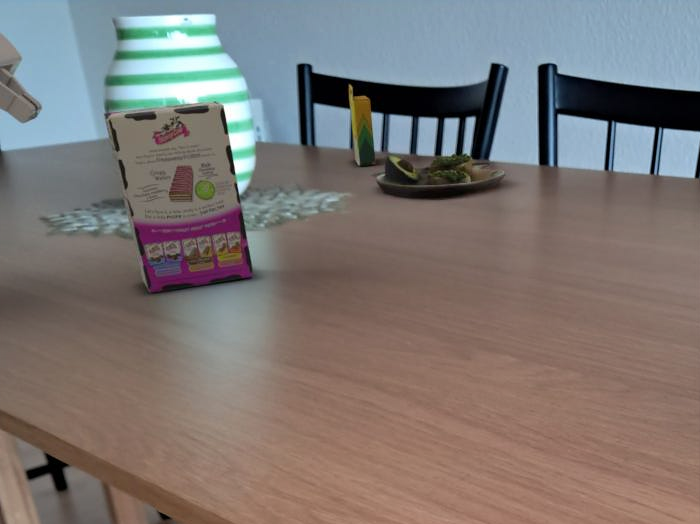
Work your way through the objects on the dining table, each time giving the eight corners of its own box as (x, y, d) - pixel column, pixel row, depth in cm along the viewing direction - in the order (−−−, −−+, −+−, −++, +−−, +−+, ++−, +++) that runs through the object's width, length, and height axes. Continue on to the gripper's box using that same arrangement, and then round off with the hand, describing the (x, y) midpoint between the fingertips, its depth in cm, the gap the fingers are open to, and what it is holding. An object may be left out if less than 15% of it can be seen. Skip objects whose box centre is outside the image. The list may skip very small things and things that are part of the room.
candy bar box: (244, 268, 111) (216, 99, 102) (255, 278, 107) (226, 103, 98) (140, 283, 107) (101, 110, 98) (147, 294, 103) (107, 114, 94)
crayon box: (376, 165, 168) (369, 85, 161) (358, 166, 167) (350, 87, 161) (372, 159, 174) (364, 82, 167) (354, 160, 173) (347, 83, 167)
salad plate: (453, 171, 159) (451, 138, 157) (535, 180, 148) (534, 146, 146) (356, 190, 148) (352, 156, 146) (437, 202, 137) (434, 165, 135)
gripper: (-138, -31, 81) (22, 98, 87) (-55, -29, 98) (74, 79, 104) (-173, 36, 83) (-15, 158, 89) (-86, 27, 100) (43, 130, 107)
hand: (34, 115), depth 97 cm, fingers closed
